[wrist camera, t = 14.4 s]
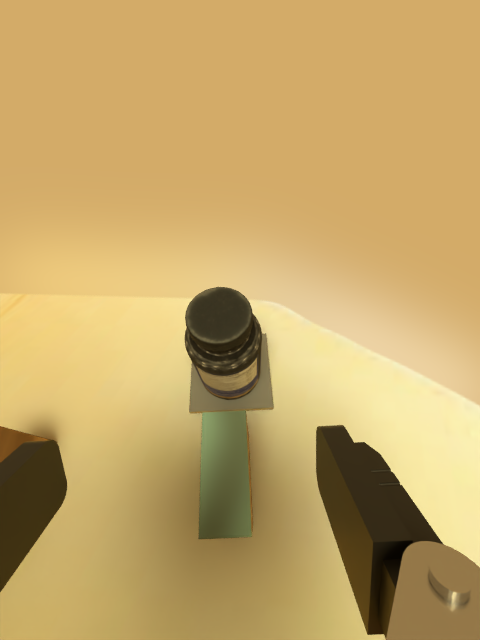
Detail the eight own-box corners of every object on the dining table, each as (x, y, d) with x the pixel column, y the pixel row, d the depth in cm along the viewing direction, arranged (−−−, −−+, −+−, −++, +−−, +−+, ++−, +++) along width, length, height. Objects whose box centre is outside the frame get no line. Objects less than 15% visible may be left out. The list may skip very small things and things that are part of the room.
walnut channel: (-5, 536, 23) (-113, 552, 16) (25, 443, 27) (-52, 425, 20) (253, 524, 23) (251, 537, 16) (248, 432, 27) (245, 410, 20)
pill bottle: (211, 339, 31) (193, 271, 22) (266, 351, 30) (271, 286, 21) (192, 393, 28) (160, 341, 19) (252, 409, 27) (250, 362, 18)
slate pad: (190, 413, 28) (189, 411, 27) (194, 340, 32) (193, 337, 31) (273, 409, 28) (273, 407, 27) (266, 336, 32) (266, 333, 31)
